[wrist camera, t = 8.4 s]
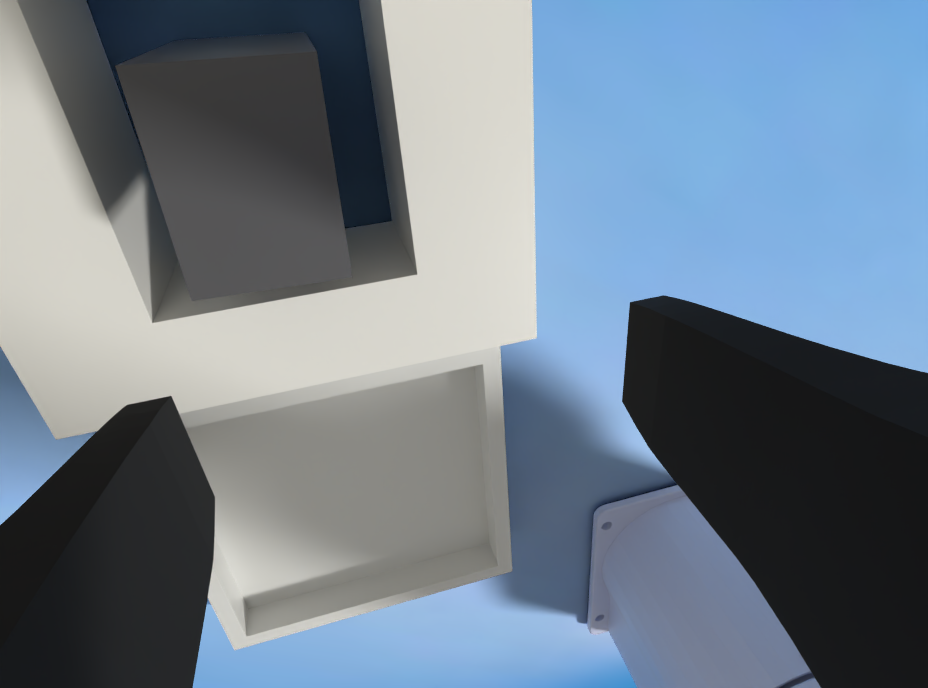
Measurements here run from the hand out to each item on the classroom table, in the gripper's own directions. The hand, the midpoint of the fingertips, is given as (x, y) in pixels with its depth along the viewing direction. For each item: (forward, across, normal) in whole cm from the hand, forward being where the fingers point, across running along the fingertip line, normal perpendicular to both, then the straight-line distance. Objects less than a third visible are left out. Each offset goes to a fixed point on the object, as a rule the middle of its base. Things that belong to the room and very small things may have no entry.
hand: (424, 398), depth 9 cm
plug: (+9, +2, -3) cm, 10 cm away
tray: (+9, +2, +10) cm, 14 cm away
